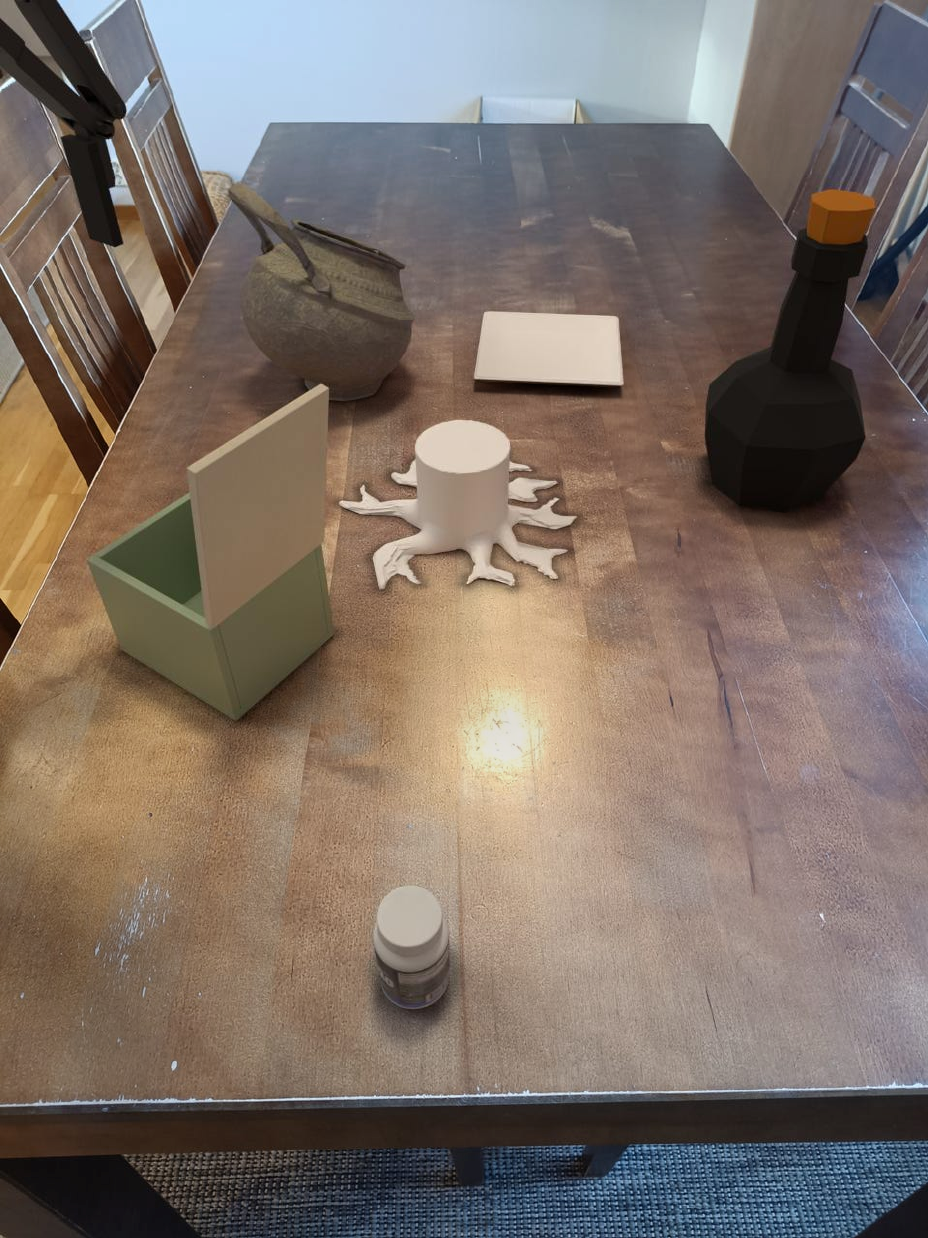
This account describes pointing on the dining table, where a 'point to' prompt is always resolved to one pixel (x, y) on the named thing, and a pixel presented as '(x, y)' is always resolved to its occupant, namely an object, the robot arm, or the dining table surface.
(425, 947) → the pill bottle
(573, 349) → the plate
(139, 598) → the box
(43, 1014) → the dining table surface
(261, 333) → the pot
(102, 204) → the robot arm
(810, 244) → the bottle
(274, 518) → the lid
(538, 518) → the white tree stump
